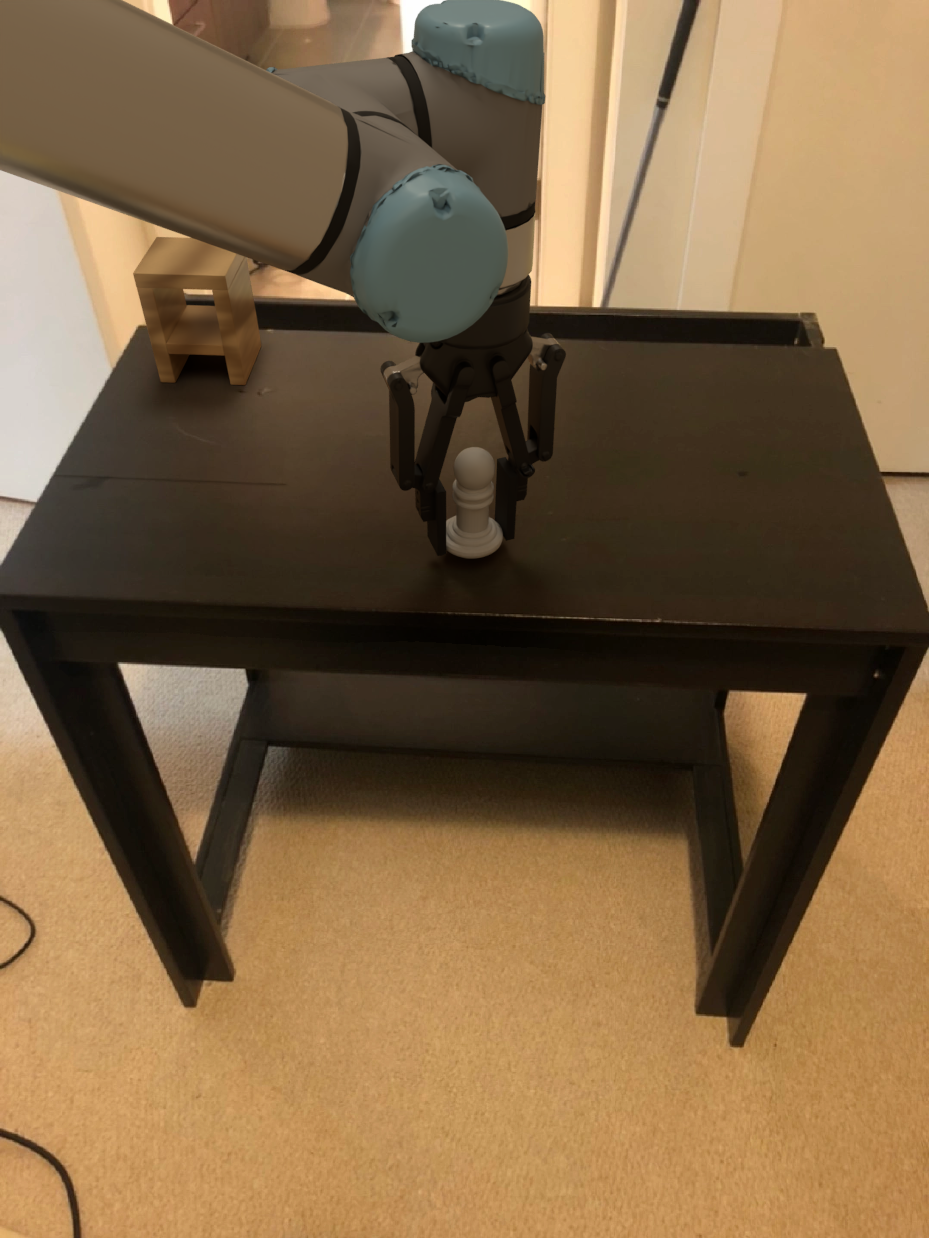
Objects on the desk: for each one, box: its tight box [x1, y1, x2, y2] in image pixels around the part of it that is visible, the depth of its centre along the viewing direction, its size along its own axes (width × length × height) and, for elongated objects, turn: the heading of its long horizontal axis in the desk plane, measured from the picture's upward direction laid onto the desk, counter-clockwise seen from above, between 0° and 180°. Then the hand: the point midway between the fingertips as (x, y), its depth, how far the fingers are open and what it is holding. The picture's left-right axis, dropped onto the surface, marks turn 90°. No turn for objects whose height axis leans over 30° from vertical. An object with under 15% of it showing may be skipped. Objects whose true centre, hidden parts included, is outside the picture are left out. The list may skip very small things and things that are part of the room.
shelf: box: [132, 236, 262, 386], centre depth 101 cm, size 9×8×12 cm
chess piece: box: [446, 446, 504, 559], centre depth 79 cm, size 5×5×9 cm
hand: (470, 537), depth 82 cm, fingers closed on chess piece, 5 cm apart
